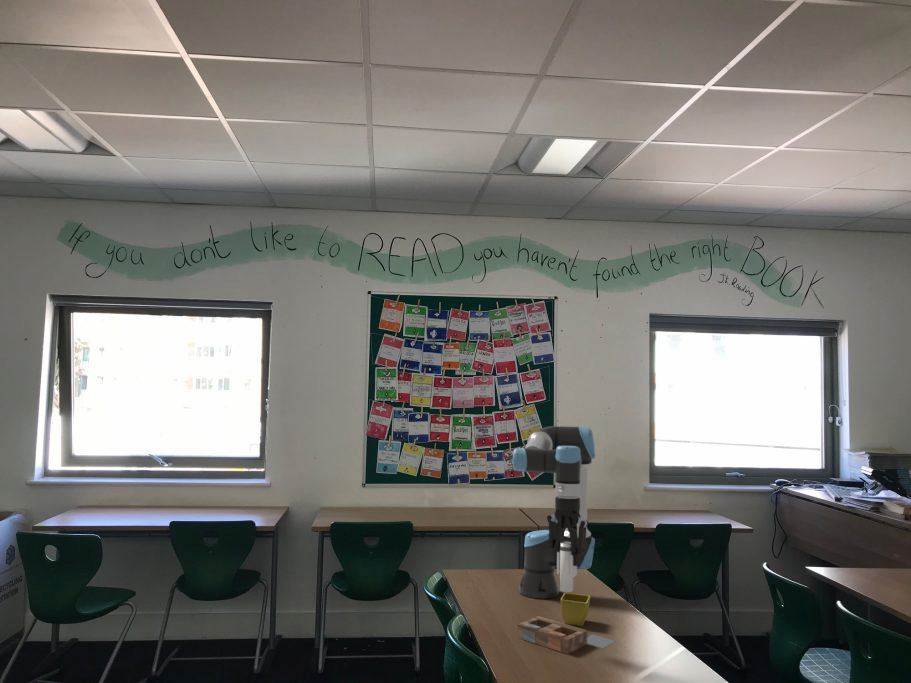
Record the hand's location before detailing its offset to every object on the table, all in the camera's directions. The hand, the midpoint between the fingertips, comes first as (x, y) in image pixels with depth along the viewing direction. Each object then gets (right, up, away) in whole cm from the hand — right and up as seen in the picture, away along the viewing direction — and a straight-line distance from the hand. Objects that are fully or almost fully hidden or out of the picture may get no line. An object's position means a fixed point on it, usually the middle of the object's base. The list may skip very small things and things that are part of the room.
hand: (566, 574), depth 199 cm
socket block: (-4, -22, +1) cm, 22 cm away
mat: (+10, -22, +2) cm, 24 cm away
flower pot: (+6, -24, +19) cm, 31 cm away
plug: (0, -5, 0) cm, 5 cm away
